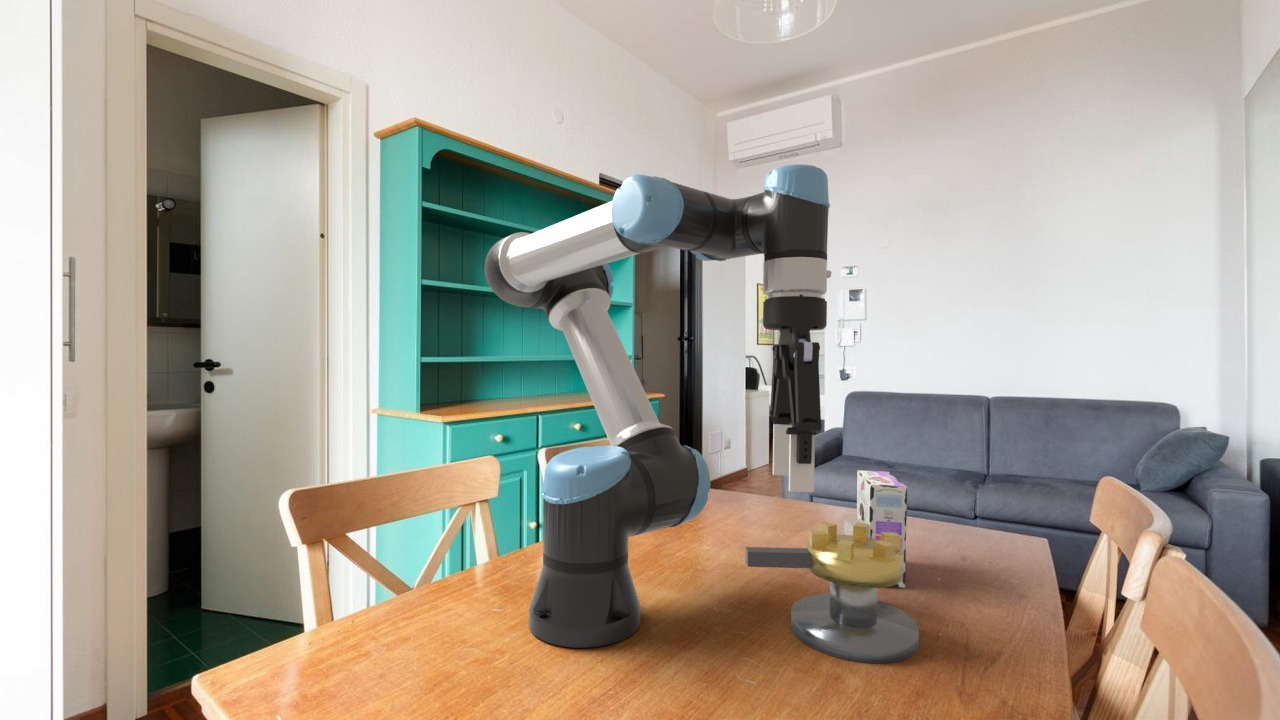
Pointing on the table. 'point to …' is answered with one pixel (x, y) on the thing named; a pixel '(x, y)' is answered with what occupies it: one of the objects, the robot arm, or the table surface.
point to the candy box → (883, 506)
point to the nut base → (855, 639)
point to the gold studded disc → (840, 557)
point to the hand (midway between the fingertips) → (791, 482)
